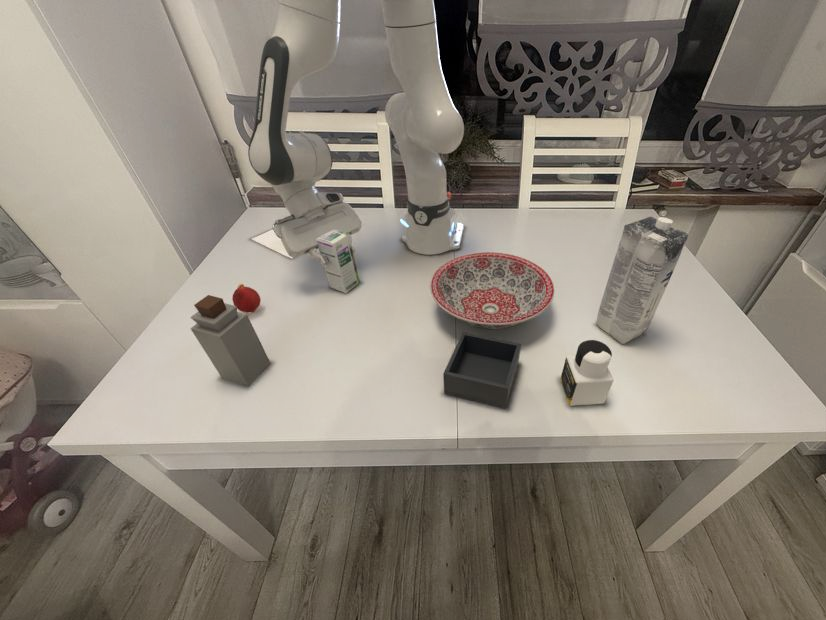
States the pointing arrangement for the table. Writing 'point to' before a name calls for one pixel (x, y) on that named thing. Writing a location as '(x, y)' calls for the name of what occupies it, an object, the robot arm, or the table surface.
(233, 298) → the onion
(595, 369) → the medicine bottle
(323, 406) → the table surface
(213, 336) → the perfume bottle
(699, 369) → the table surface
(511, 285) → the ceramic bowl
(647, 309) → the juice carton
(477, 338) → the bin
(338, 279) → the syrup box
